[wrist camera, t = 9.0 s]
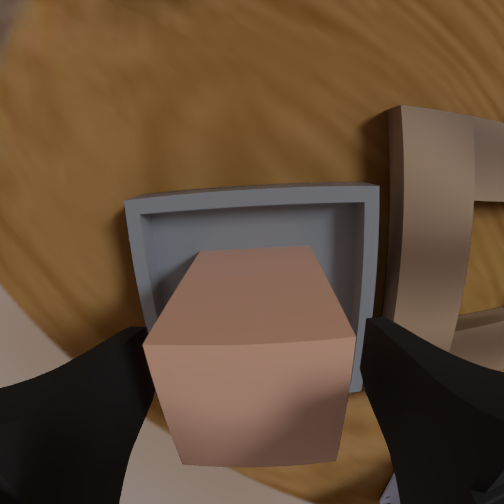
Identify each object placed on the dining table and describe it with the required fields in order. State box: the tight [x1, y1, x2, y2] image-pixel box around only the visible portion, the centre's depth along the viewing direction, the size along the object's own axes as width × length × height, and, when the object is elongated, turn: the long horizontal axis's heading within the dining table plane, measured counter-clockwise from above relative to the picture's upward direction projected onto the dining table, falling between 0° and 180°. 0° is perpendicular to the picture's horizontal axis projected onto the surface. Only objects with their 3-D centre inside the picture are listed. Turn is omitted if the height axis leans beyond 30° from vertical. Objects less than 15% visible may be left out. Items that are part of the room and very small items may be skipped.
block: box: [143, 245, 356, 467], centre depth 10 cm, size 4×4×7 cm
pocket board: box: [382, 105, 504, 371], centre depth 13 cm, size 14×14×2 cm
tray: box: [124, 182, 379, 393], centre depth 13 cm, size 10×10×2 cm
